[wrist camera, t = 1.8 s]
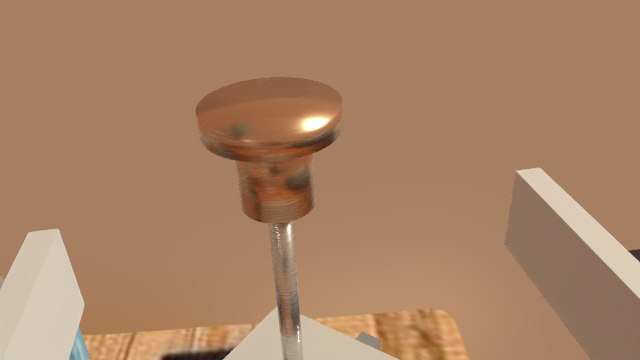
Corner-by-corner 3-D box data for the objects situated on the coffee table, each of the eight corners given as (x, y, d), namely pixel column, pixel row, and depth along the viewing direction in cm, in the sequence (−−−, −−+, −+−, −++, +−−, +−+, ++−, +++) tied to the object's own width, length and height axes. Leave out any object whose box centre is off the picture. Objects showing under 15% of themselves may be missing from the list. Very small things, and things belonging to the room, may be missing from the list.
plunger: (229, 441, 35) (164, 115, 24) (289, 372, 40) (258, 69, 28) (312, 495, 32) (283, 149, 21) (366, 413, 37) (368, 91, 25)
